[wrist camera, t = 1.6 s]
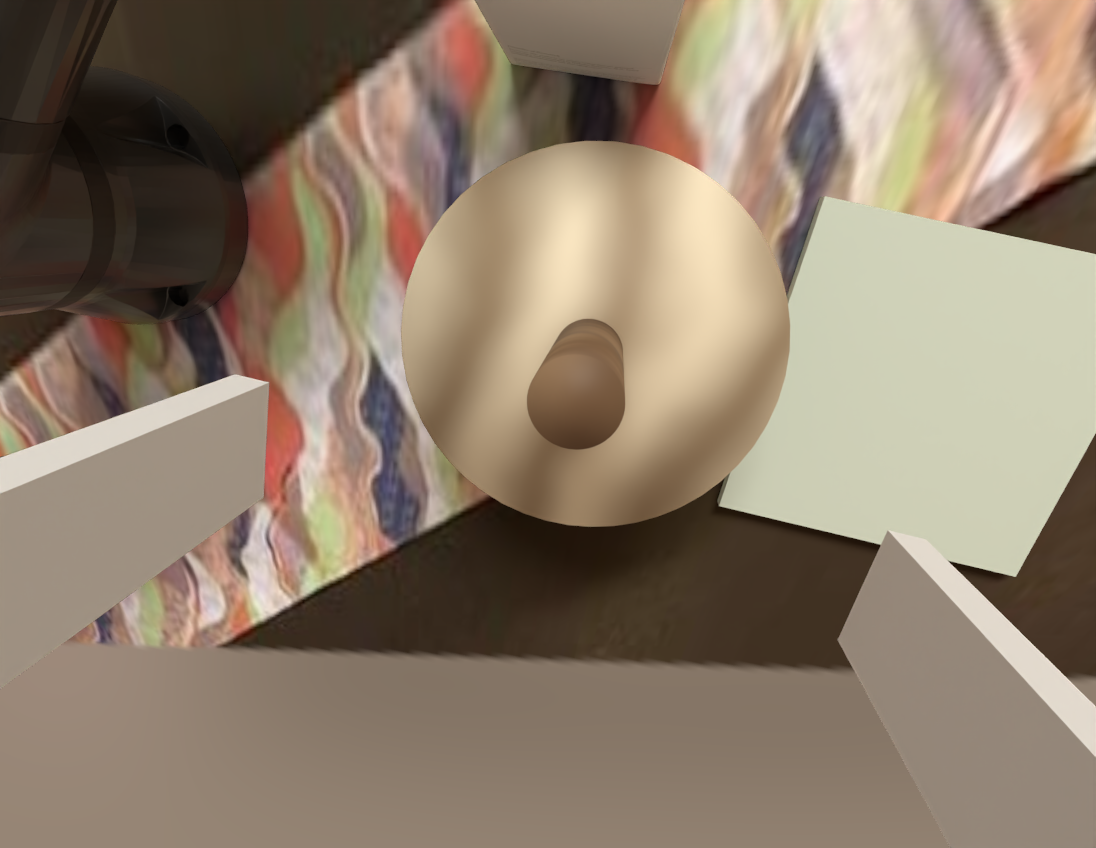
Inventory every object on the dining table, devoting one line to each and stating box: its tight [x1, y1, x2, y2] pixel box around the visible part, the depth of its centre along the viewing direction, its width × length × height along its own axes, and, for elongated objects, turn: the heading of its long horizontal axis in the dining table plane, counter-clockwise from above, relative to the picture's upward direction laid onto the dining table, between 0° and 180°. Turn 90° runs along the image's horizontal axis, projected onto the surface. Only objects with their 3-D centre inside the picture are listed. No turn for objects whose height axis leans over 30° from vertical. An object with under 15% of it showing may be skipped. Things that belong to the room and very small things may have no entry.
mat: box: [717, 196, 1096, 577], centre depth 36 cm, size 20×20×1 cm
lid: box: [401, 141, 790, 527], centre depth 25 cm, size 19×19×10 cm
